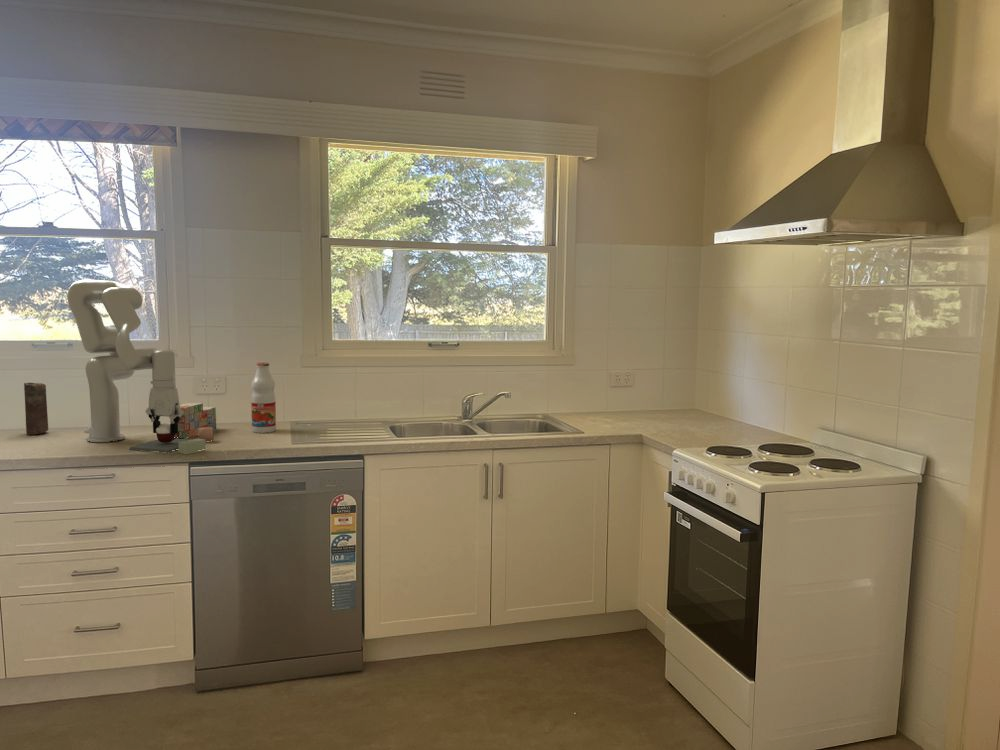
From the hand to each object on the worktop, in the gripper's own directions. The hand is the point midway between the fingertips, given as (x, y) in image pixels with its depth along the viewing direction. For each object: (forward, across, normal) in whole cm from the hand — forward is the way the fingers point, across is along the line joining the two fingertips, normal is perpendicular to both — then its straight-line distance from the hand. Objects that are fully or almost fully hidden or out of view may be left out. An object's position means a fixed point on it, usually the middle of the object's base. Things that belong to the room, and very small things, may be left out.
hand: (165, 432), depth 266 cm
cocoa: (+3, 0, 0) cm, 3 cm away
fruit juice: (+5, +16, +38) cm, 42 cm away
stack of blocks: (+5, -6, +24) cm, 26 cm away
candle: (+6, -62, +4) cm, 62 cm away
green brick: (+5, +14, -4) cm, 16 cm away
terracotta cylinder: (+5, +7, +13) cm, 16 cm away
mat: (+5, 0, 0) cm, 5 cm away
